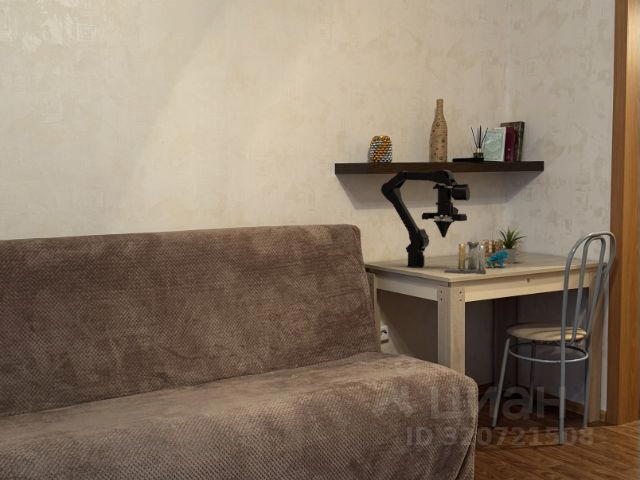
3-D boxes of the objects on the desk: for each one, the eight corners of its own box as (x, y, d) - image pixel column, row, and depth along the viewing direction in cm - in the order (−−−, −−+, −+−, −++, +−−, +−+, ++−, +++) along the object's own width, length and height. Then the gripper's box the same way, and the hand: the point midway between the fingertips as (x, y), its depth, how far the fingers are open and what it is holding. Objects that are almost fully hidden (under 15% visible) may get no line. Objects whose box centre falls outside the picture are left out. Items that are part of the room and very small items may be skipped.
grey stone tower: (479, 273, 311) (479, 245, 310) (465, 268, 329) (465, 241, 328) (490, 273, 312) (491, 245, 311) (476, 267, 329) (476, 241, 328)
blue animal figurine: (501, 261, 338) (510, 247, 331) (508, 272, 335) (517, 257, 328) (480, 266, 334) (488, 251, 327) (486, 277, 331) (495, 262, 324)
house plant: (510, 265, 338) (511, 227, 337) (485, 262, 349) (486, 226, 348) (530, 263, 348) (531, 226, 346) (505, 260, 358) (506, 224, 357)
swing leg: (467, 265, 325) (468, 241, 324) (473, 265, 324) (474, 241, 323) (457, 268, 314) (458, 244, 313) (463, 269, 313) (464, 244, 312)
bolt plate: (444, 272, 314) (444, 269, 314) (445, 270, 320) (445, 268, 320) (484, 274, 310) (484, 271, 310) (485, 272, 316) (485, 269, 316)
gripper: (473, 200, 325) (473, 237, 327) (435, 198, 337) (434, 235, 339) (460, 200, 317) (459, 239, 318) (421, 199, 329) (420, 236, 330)
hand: (443, 237), depth 327 cm, fingers closed
